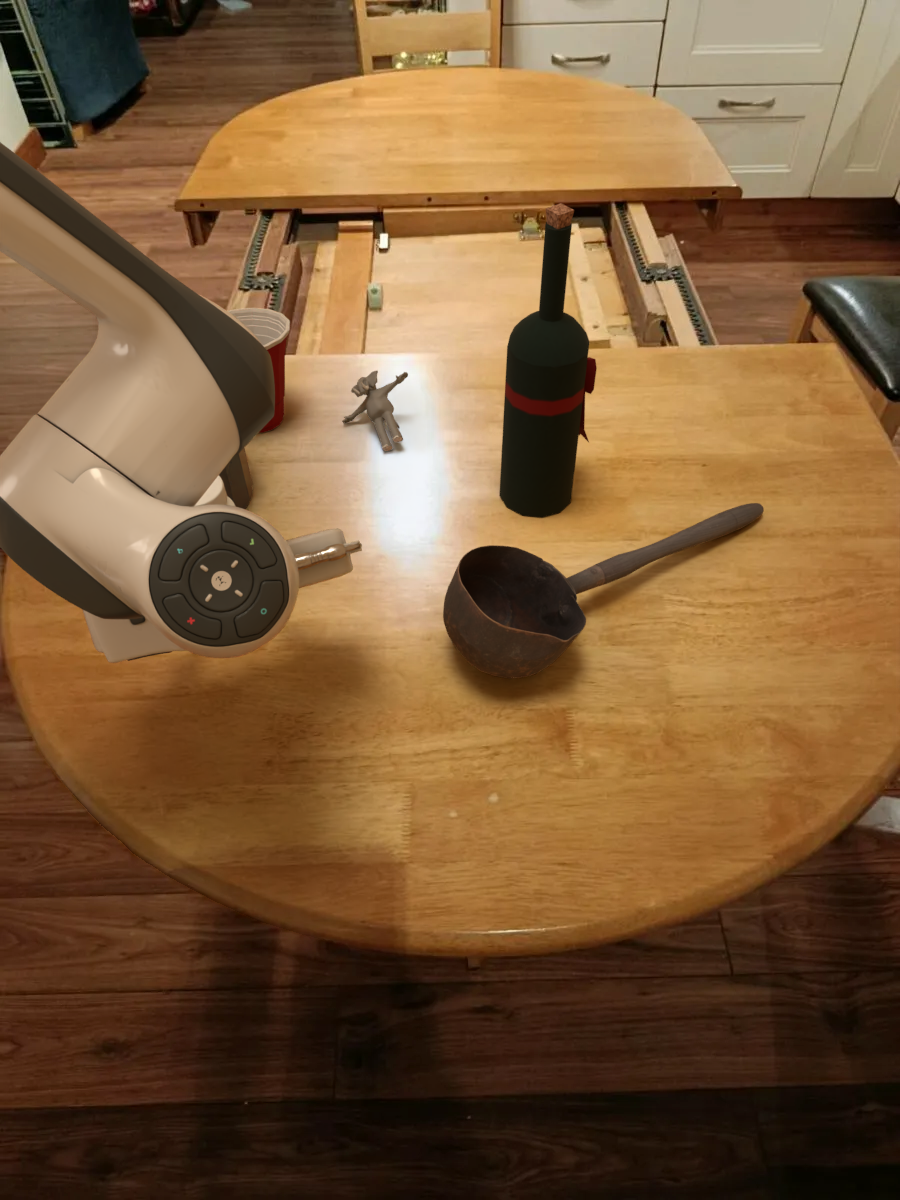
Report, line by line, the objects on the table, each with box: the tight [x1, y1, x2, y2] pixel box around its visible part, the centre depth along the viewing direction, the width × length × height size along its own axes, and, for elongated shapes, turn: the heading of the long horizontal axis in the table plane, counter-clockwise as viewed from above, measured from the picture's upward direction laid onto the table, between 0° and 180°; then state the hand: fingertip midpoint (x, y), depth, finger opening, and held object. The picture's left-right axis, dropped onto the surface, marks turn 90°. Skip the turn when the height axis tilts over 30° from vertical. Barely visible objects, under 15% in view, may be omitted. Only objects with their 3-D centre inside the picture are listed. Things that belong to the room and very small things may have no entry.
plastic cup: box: [227, 307, 291, 434], centre depth 96 cm, size 11×11×12 cm
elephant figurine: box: [341, 370, 409, 452], centre depth 97 cm, size 10×6×9 cm
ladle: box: [442, 502, 765, 679], centre depth 80 cm, size 12×38×10 cm, turn 124°
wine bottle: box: [498, 203, 598, 519], centre depth 80 cm, size 8×10×30 cm
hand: (222, 585), depth 71 cm, fingers open, 8 cm apart
